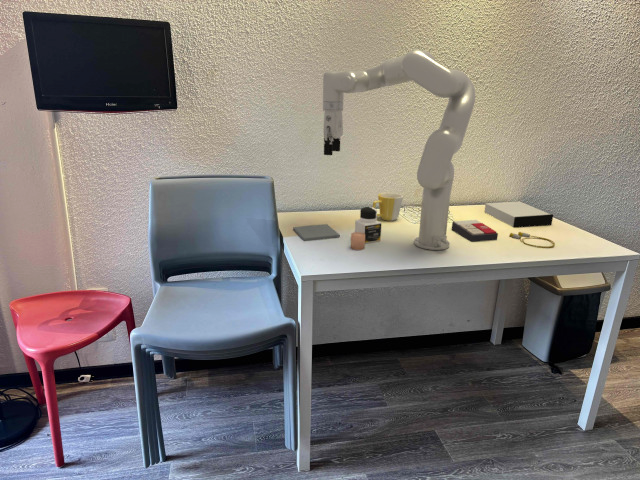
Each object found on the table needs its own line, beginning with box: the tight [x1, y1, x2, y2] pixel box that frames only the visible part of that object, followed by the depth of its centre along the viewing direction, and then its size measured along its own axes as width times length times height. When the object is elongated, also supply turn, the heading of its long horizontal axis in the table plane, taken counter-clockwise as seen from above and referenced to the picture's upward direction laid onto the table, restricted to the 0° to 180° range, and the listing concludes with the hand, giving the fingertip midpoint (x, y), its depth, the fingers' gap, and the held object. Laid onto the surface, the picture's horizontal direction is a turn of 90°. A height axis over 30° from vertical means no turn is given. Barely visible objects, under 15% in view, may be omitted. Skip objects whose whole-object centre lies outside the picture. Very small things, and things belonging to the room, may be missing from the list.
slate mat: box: [292, 223, 341, 242], centre depth 188 cm, size 14×14×1 cm
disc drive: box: [484, 200, 554, 229], centre depth 211 cm, size 18×22×5 cm
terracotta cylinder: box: [350, 231, 366, 251], centre depth 174 cm, size 5×5×5 cm
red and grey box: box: [451, 219, 499, 243], centre depth 190 cm, size 11×4×15 cm
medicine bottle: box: [354, 206, 382, 244], centre depth 181 cm, size 7×7×12 cm
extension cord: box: [509, 231, 556, 249], centre depth 184 cm, size 12×16×2 cm
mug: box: [372, 191, 404, 222], centre depth 206 cm, size 14×10×10 cm
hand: (332, 153), depth 188 cm, fingers open, 9 cm apart
